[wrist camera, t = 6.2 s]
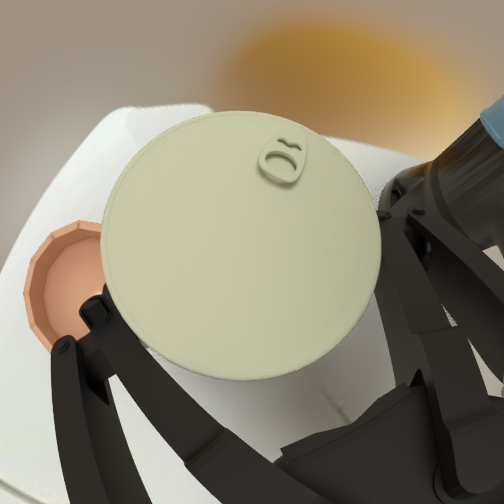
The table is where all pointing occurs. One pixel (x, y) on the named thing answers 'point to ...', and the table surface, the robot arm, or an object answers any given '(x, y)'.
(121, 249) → the can
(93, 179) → the table surface
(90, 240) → the bowl
